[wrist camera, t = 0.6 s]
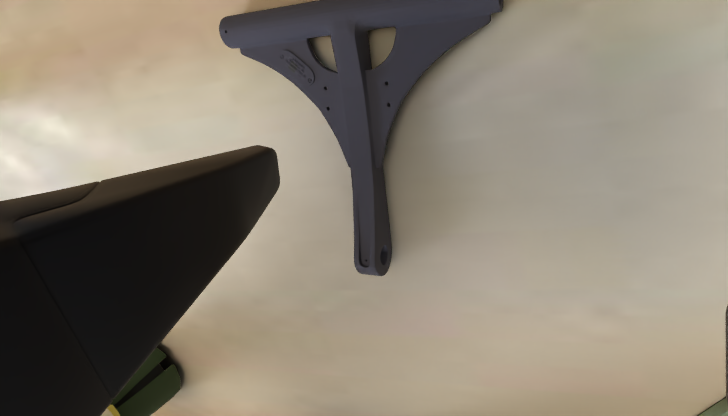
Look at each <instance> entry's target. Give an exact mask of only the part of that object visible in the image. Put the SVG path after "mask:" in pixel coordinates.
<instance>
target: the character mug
mask: <svg viewBox="0 0 728 416" xmlns="http://www.w3.org/2000/svg"><path fill="white" fill-rule="evenodd" d="M165 357H166V355H165V353H164V352H162V351H161V350H159V349H158V348H157V347H156V349H155V350H154V351H153V352H152V354H151V355H150V356H149V357H148V358H147V360H146V361H145V362H144V363H143V365H142V366H141V367H140V368H139V369H138V371H137V372H136V373H135V374H134V375H133V377H132V378H131V379H130V380H129V382H128V383H127V384H126V385H125V386H124V388H123V389H122V390H121V391H120V392H119V394H118V395H117V396H116V397H115V398H114V399H112V400H113V401H112V403H111V404H110V405H109V406H108V408H107V409H106V410H105V411H104V412H103V414H102V415H101V416H150V415H151V414H153V413H154V412H155V411H157V410H158V409H159V408H160V407H162V406H163V405H164V404H165V403H166V402H168V401H169V400H170V399H171V398H172V397H174V395H175V394H176V393H177V392H178V391H179V390H180V376H179V374H178V371H177V369H176V367H175V366H174V365H173V364H172V365H171V366H170V367H168V368H167V369H166V370H165V371H164V369H163V368H162V366H161V365H160V364H159V363H160V362H161V361H162V360H163V359H164V358H165Z"/></svg>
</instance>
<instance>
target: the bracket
mask: <svg viewBox="0 0 728 416" xmlns="http://www.w3.org/2000/svg"><path fill="white" fill-rule="evenodd" d="M502 8H503V0H319V1H313V2H307V3H301V4H296V5H290V6H284V7H279V8H273V9H267V10H261V11H256V12H250V13H244V14H239V15H233V16H227V17H224V18H223V19H222V20H221V22H220V25H219V31H220V36H221V38H222V40H223V42H224V43H225V44H226V45H227V46H228V47H230V48H240V50H241V54H243V55H244V56H247V57H249V58H252V59H254V60H256V61H259V62H261V63H263V64H265V65H267V66H269V67H270V68H272V69H274V70H276V71H277V72H279V73H280V74H282V75H283V76H284V77H286V78H287V79H289V80H290V81H291V82H292V83H294V84H295V85H296V86H297V87H298V88H299V89H300V90H301V91H302V92H303V93H305V94H306V96H307V97H308V98H309V99H310V100H311V101H312V102H313V103H314V104H315V105H316V106H317V107H318V108H319V109H320V111H321V112H322V114H323V115H324V117H325V119H326V120H327V122H328V124H329V125H330V127H331V129H332V130H333V132H334V134H335V136H336V138H337V140H338V142H339V144H340V146H341V149H342V151H343V154H344V156H345V159H346V161H347V163H348V166H349V167H350V168H351V177H352V188H353V212H354V263H355V267H356V269H357V271H358V272H359V273H361V274H368V275H377V276H384V275H385V274H386V273H387V271H388V269H389V266H390V262H391V254H392V247H391V235H390V226H389V218H388V209H387V200H386V191H385V182H384V173H383V160H384V155H385V150H386V145H387V140H388V136H389V133H390V130H391V127H392V124H393V122H394V119H395V117H396V114H397V112H398V110H399V107H400V105H401V103H402V101H403V99H404V98H405V96H406V95H407V94H408V92H409V91H410V90H411V88H412V87H413V86H414V84H415V83H416V82H417V80H418V79H419V78H420V77H421V76H422V74H423V73H424V72H425V71H426V70H427V69H428V68H429V67H430V66H431V65H432V64H433V63H434V62H435V61H436V60H437V59H438V58H439V57H440V56H442V55H443V54H444V53H445V52H446V51H448V50H449V49H450V48H451V47H453V46H454V45H455V44H457V43H458V42H460V41H461V40H463V39H464V38H466V37H467V36H469V35H470V34H472V33H473V32H475V31H477V30H478V29H480V28H482V27H483V26H485V25H487V24H488V23H489V22H490V21H491V14H492V13H496V12H501V11H502ZM385 27H396V36H395V42H394V46H393V48H392V51H391V53H390V54H389V56H388V57H387V59H386V60H385V61H384V62H383V63H382V64H381V65H379V66H378V67H376V68H374V69H372V67H371V58H370V49H369V40H368V30H372V29H378V28H385ZM329 35H330V36H331V41H332V46H333V51H334V56H335V61H336V66H337V71H338V72H335V71H332V70H330V69H328V68H326V67H325V66H324V65H322V64H321V63H320V61H319V60H318V59H317V58H316V56H315V54H314V52H313V50H312V47H311V44H310V41H309V38H313V37H320V36H329ZM387 82H388V84H387ZM389 103H390V105H389ZM329 107H330V108H329Z"/></svg>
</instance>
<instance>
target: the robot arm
mask: <svg viewBox="0 0 728 416" xmlns="http://www.w3.org/2000/svg"><path fill="white" fill-rule="evenodd" d="M279 185H280V176H279V168H278V161H277V154H276V152H275V150H273V149H272V148H268V147H264V146H260V145H256V146H251V147H247V148H243V149H238V150H234V151H229V152H225V153H221V154H216V155H212V156H207V157H203V158H199V159H194V160H190V161H185V162H181V163H177V164H172V165H168V166H163V167H159V168H155V169H150V170H146V171H142V172H137V173H133V174H128V175H124V176H120V177H115V178H111V179H106V180H102V181H101V182H93V183H89V184H84V185H80V186H75V187H70V188H66V189H61V190H57V191H52V192H47V193H42V194H37V195H31V196H26V197H21V198H16V199H10V200H5V201H0V416H101V415H102V414H103V412H104V411H105V410H106V409H107V408H108V406H109V405H110V404H111V403H112V401H113V400H112V399H114V398H115V397H116V396H117V395H118V394H119V392H120V391H121V390H122V389H123V388H124V386H125V385H126V384H127V383H128V382H129V380H130V379H131V378H132V377H133V375H134V374H135V373H136V372H137V371H138V369H139V368H140V367H141V366H142V365H143V363H144V362H145V361H146V360H147V358H148V357H149V356H150V355H151V354H152V352H153V351H154V350H155V349H156V347H157V346H158V345H159V344H160V343H161V341H162V340H163V339H164V338H165V337H166V335H167V334H168V333H169V332H170V330H171V329H172V328H173V327H174V326H175V324H176V323H177V322H178V321H179V319H180V318H181V317H182V316H183V315H184V313H185V312H186V311H187V310H188V309H189V307H190V306H191V305H192V304H193V302H194V301H195V300H196V299H197V298H198V296H199V295H200V294H201V293H202V291H203V290H204V289H205V288H206V287H207V285H208V284H209V283H210V282H211V281H212V279H213V278H214V277H215V276H216V274H217V273H218V272H219V271H220V270H221V268H222V267H223V266H224V265H225V263H226V262H227V261H228V260H229V259H230V257H231V256H232V255H233V254H234V253H235V251H236V250H237V249H238V248H239V246H240V245H241V244H242V243H243V241H244V240H245V239H246V237H247V236H248V234H249V233H250V232H251V230H252V229H253V227H254V226H255V224H256V223H257V221H258V219H259V218H260V216H261V215H262V213H263V212H264V210H265V209H266V207H267V206H268V204H269V203H270V201H271V200H272V198H273V197H274V195H275V194H276V192H277V190H278V188H279ZM726 395H727V405H728V306H727V309H726Z"/></svg>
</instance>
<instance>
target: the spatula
mask: <svg viewBox="0 0 728 416" xmlns="http://www.w3.org/2000/svg"><path fill="white" fill-rule="evenodd" d="M699 416H728V405H727V397H726V398H724V399H723V400H721V401H720V402H718V403H717V404H715V405H714V406H712V407H711V408H709V409H708V410H706V411H705V412H703V413H702V414H700V415H699Z"/></svg>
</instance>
